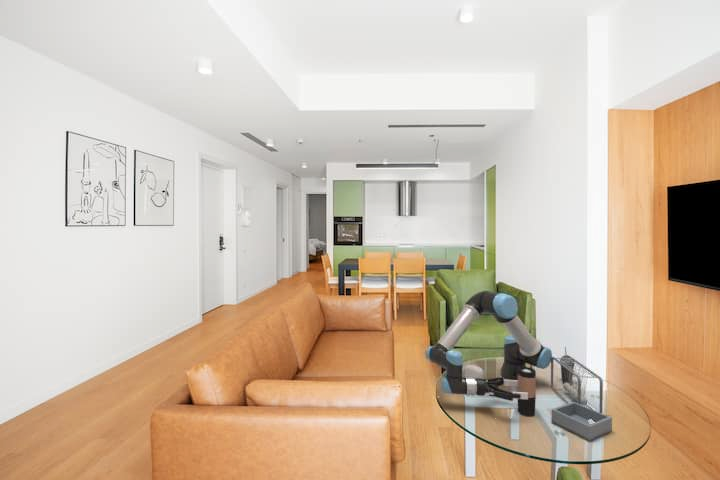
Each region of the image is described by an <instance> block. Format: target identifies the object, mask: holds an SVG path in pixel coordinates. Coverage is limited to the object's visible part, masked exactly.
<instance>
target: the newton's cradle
mask: <svg viewBox="0 0 720 480" xmlns="http://www.w3.org/2000/svg"><path fill="white" fill-rule="evenodd" d="M560 359H569V366H568V365H566V364H565V363H564V361H561V360H560ZM572 360H573V361H574V362H573V361H572ZM554 361H555V362H557V363H558V364H559V365H560V366H561V365H562V366H563V368H565V369H567V370H568V371H569V377H568V381H569V383H567V382H566V383H564V384H563V383H562V384H563V385H562V387H563V388H559V389H560V390H559V391H563V390H562V389H565V390H564V391H567V393H568V394H570V396H571V397H573V398H574V399H575V400H576V401H577V403H578V404H580V405H583V406H585V405H586V406H587V402H588V399H587V398H586V396H585V395H583V394H585V391H586V390H584V391H583V392H584V393H582V387H581V386H582V381H583V380H582V379H583V378H586V379H589V378H591V379H592V378H593V379H598V381H599V411H598V412H600V413H602V414H603V400H604V399H603V397H604V395H603V393H604V392H603V391H604V389H603V388H604V386H603V385H604V384H603V383H604V381H603V379H602V377H601V376H600V375H599V374H597V373H596V372H594V371H592V370H591V369H589V368H588V367H587V366H585V365H584V364H583V363H581V362H579V361H578V360H576V358H574V357H572V358H561V357H555V356H552V358H551V362H550V388H551V390H552V389H553V390H554V391H555V392H556V393H557V394H558V395H559V396H560V397H562V399H563V400H564V401H565V402H566V403H567V404H569V403H570V402H569V401H568V400H567V399H566V397H563V395H562V394H561V393H560V392H558V390H555V389H556V388H554ZM560 361H561V362H562V363H561V362H560ZM563 363H564V364H565V365H566V366H565V365H564V364H563ZM572 363H575V364H572ZM572 365H574V369H572ZM567 366H568V367H569V368H568V367H567ZM577 367H578V368H579V369H578V371H581V370H582V371H583V373H582V374H585V373H586V374H588V375H590V376H588V375H587V376H584V375H581V373H580V372H577V370H575V369H576V368H577ZM572 370H573V371H572ZM564 373H565V372H564ZM567 374H568V372H567ZM572 374H573V378H572ZM575 378H576V380H573V379H575ZM565 379H566V377H565ZM573 381H574V382H575V387H574V386H573V385H574V383H573ZM587 382H588V380H586V381H585V384H587ZM584 386H585V387H584V389H586V387H587V385H584ZM553 390H552V391H553ZM554 391H553V392H554ZM556 393H555V394H556ZM557 394H556V395H557ZM558 395H557V396H558ZM559 396H558V397H559ZM560 397H559V398H560ZM562 399H561V400H562ZM563 400H562V401H563ZM564 401H563V402H564ZM565 402H564V403H565ZM566 403H565V404H566Z"/></svg>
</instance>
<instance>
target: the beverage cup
mask: <svg viewBox="0 0 720 480" xmlns="http://www.w3.org/2000/svg"><path fill="white" fill-rule="evenodd" d="M564 354H565V355H563V356H561V357H560V358H573V357H572V356H570V355H567V347H566V346H564ZM560 360H561V361H564V363H565V364H566V365H568V366H569V359H560ZM560 360H559V361H560ZM561 361H560V362H561ZM572 361H573V360H572ZM573 362H574V361H573ZM561 363H562V362H561ZM564 363H563V364H564ZM575 363H576V362H575ZM575 363H572V364H575ZM565 364H564V365H565ZM566 365H565V366H566ZM575 365H576V364H575ZM575 365H572V369H573V370H575ZM568 366H567V367H568ZM568 368H569V367H568ZM573 370H572V371H573ZM564 372H565V373H564ZM567 372H568V374H567ZM560 373H561V381H562V382H563V383H566V382H567V383H569V381H568V377H569V371H568V370H567V369H565V368H563V366H562V365H560ZM573 376H574V375H573V374H572V379H574V378H573ZM565 377H566V379H565ZM562 382H561V383H562ZM563 383H562V384H563Z"/></svg>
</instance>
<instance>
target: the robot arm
mask: <svg viewBox="0 0 720 480" xmlns="http://www.w3.org/2000/svg"><path fill="white" fill-rule="evenodd" d="M462 307H463V309H462V310H461V311H460V313H459V314H458V315H457V316H456V318H455V319H454V321H453V322H452V323H451V324H450V326H449V327H448V328H447V330H446V331H445V332H444V333H443V335H442V336H441V338H440V339H439V340H438V341H437V342H436V344H435V345H431V346H427V348H426V350H425V352H424V353H425V358H426V360H428V361H429V362H431V363H433V364H435V365H437V366H439V367H441V368H443V369H445V375H443V376H442V377H441V380H440V381H441V383H440V384H441V391H442V393H444V394H451V395H453V394H454V395H467V396H475V395H476V396H481V397H482V396H485V395H486V393H488V396H489V397H493V398H498V399H502V400H507V401H509V402H512V401H513V400H514V399H515V400H518V399H528V393H525V392H517V391H511V392H510V391H507V390H504V389H502V388H499V387H500V386H505V387H518V368H519V367H527V365H530V366H532V367H536V368H537V369H547V368H548V367H549V365H551V358H552V357H553V352H552V350H551V348H549V347H547V346H544V345H543V344H542V343H541V342H540V341H539V339H537V338H534V337H533V336H532V334H531V332H530V331H529V330H528V328H527V327H526V325H525V324H524V323H523V321H522V320H521V318H520V317H519V316H518V312H519V311H518V310H519V307H518V302H517V300H516V298H515V297H513V296H512V295H509V294H506V293H501V292H496V291H495V292H494V291H489V290H481V291H478V292H476V293H475V294H474V295H472V296H471V297H470V298H468V300H467V301H466V302H465V303H464V305H463V306H462ZM482 314H488V315H491V316H492V317H493V318H494V319H495V321H496V322H498V323H499V324H502V325H503V326H504V328H505V329H506V330H507V331H508V333H509V334H510V335H509V336H506V337H504V341H503V363H502V366H501V369H500V376H501V377H499V376H498V377H491V378H484V379H482V378H476V379H474V378H468V377H463V368H464V366H463V364H464V363H463V362H464V361H463V354H462V352H460V351H459V350H453V348H454V347H455V346H456V345H457V343H458V342H459V340H461V338H462V336H463V335H464V334H465V333H466V331H467V329H468V328H469V327H470V326H471V325H472V324H473V322H474V321H475V319H476V318H479V317H480V316H481V315H482Z"/></svg>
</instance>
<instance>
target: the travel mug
mask: <svg viewBox="0 0 720 480" xmlns="http://www.w3.org/2000/svg"><path fill="white" fill-rule="evenodd" d="M536 373H537V371H536V370H535V369H534V368H532V367H527V366H526V367H519V368H518V387H517V389H516V390H517V391H516V392H525V393H528V399H517V412H518V414H519V415H521V416H524V417H530V418H531V417H534V416H535V415H536V399H537V396H536V395H537V394H536V393H537V392H536V391H537V390H536V387H537V386H536V385H537V384H536V383H537V379H536V377H537V376H536V375H537V374H536Z"/></svg>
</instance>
